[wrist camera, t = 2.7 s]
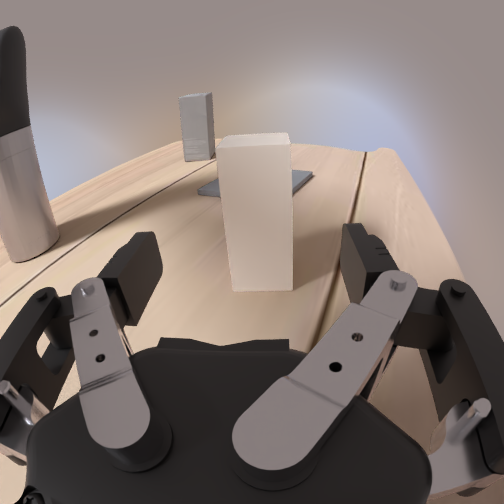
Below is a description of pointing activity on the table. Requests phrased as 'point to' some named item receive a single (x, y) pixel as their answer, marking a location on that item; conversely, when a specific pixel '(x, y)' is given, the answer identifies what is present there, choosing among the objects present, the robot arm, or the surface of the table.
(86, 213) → the table surface
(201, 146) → the skincare box
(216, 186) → the grey mat
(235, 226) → the cream block
